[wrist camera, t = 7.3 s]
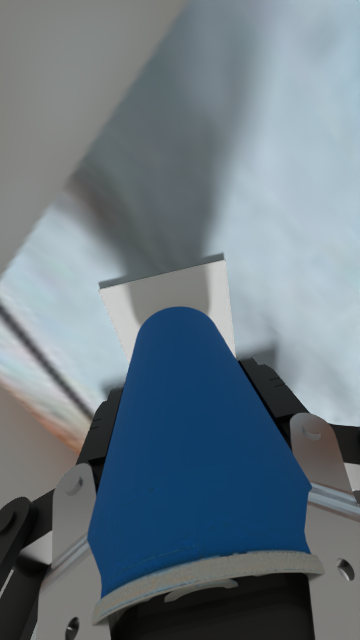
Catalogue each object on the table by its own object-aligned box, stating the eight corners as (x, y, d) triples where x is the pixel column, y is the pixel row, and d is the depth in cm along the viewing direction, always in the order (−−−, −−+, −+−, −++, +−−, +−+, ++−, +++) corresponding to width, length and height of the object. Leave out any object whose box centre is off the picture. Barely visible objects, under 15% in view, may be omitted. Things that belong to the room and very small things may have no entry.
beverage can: (161, 382, 17) (160, 660, 6) (120, 326, 14) (-24, 640, 3) (227, 353, 16) (370, 605, 5) (198, 287, 13) (360, 520, 2)
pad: (223, 259, 14) (225, 259, 14) (234, 360, 19) (236, 362, 18) (99, 288, 15) (98, 290, 14) (138, 382, 19) (138, 385, 18)
